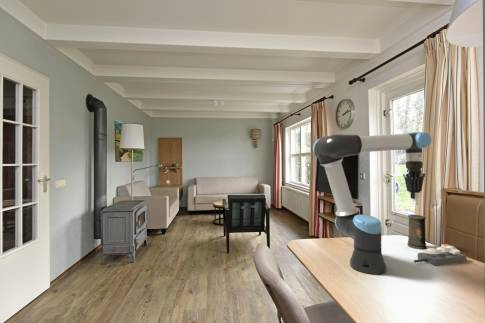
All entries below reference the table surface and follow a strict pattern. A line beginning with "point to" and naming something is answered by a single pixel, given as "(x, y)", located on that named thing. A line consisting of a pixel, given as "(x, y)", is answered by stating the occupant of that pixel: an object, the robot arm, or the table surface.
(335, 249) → the table surface
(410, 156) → the robot arm
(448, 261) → the rocker switch panel
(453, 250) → the rocker
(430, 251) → the rocker
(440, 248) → the rocker
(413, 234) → the container
